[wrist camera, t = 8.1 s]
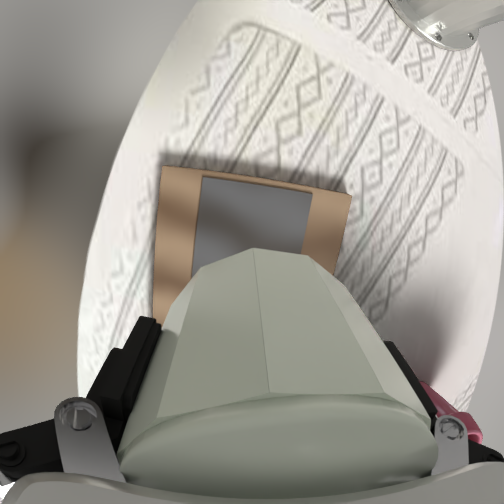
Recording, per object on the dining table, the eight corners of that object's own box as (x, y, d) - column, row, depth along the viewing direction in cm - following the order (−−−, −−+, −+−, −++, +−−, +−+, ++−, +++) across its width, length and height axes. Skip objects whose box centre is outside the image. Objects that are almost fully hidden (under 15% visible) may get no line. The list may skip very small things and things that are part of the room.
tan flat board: (165, 165, 25) (161, 166, 23) (347, 193, 26) (352, 196, 25) (156, 369, 32) (153, 377, 30) (295, 385, 33) (297, 393, 32)
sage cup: (175, 237, 11) (79, 389, 3) (374, 264, 11) (496, 397, 4) (169, 390, 13) (138, 533, 6) (323, 403, 14) (360, 535, 6)
